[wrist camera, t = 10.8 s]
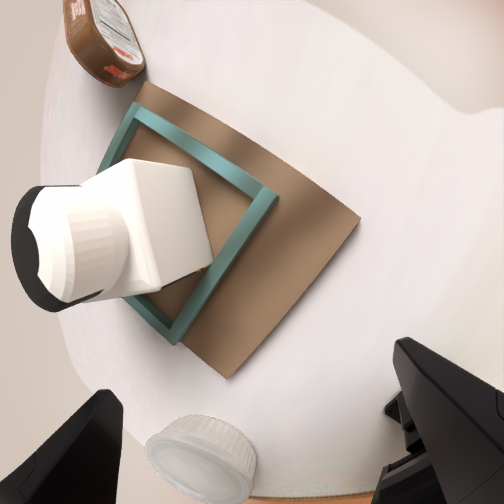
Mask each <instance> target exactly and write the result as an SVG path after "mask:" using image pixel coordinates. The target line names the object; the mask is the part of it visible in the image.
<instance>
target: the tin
mask: <svg viewBox="0 0 504 504" xmlns="http://www.w3.org/2000/svg"><path fill="white" fill-rule="evenodd" d="M63 12H64V23H65V34H66V41H67V44H68V47H69V49H70V51H71V53H72V54H73V55H74V57H75V58H76V60H77V61H78V62H79V64H80V65H81V66H82V67H83V68H84V69H85V70H86V71H87V72H88V73H89V74H90V75H92V76H93V77H94V78H96V79H97V80H99V81H100V82H102V83H104V84H106V85H108V86H111V87H115V88H120V87H123V86H124V85H125V84H126V83H127V82H128V81H129V80H130V79H132V78H133V77H134V76H136V75H137V74H138V73H139V72H140V71H141V70H142V69H143V68H144V66H145V59H144V55H143V53H142V50H141V48H140V45H139V42H138V40H137V37H136V35H135V32H134V30H133V27H132V25H131V22H130V20H129V18H128V16H127V14H126V12H125V11H124V9H123V8H122V6H121V5H120V4H119V3H118V1H117V0H63Z"/></svg>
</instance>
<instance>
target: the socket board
mask: <svg viewBox="0 0 504 504" xmlns="http://www.w3.org/2000/svg"><path fill="white" fill-rule="evenodd" d="M125 159H137V160H144V161H150V162H156V163H162V164H168V165H174V166H180V167H186V168H189V169H191V170H192V173H193V177H194V182H195V186H196V190H197V194H198V199H199V203H200V207H201V211H202V215H203V219H204V223H205V227H206V231H207V235H208V239H209V243H210V247H211V251H212V255H213V259H214V261H213V263H212V264H211V266H209V267H207V268H205V269H203V270H201V271H199V272H197V273H194V274H192V275H190V276H188V277H186V278H184V279H182V280H180V281H178V282H176V283H174V284H172V285H170V286H168V287H166V288H163V289H161V290H159V291H156V292H150V293H144V294H138V295H132V296H126V297H122V298H123V299H124V300H125V301H126V302H127V303H128V304H129V305H130V306H131V307H133V308H134V309H135V310H136V311H137V312H138V313H139V314H140V315H141V316H142V317H143V318H144V319H145V320H146V321H147V322H148V323H149V324H150V325H151V326H152V327H153V328H155V329H156V330H157V331H158V332H159V333H160V334H161V335H162V336H163V337H164V338H166V339H167V340H168V341H169V342H170V343H171V344H172V345H173V346H174V345H176V344H177V343H178V342H179V341H181V342H182V343H183V344H184V345H185V346H187V347H188V348H189V349H190V350H191V351H192V352H194V353H195V354H196V355H197V356H198V357H200V358H201V359H202V360H203V361H205V362H206V363H207V364H208V365H209V366H211V367H212V368H213V369H214V370H216V371H217V372H218V373H219V374H221V375H222V376H223V377H225V378H226V379H228V378H229V377H230V376H231V375H232V374H233V373H234V372H235V371H236V370H237V369H238V368H239V366H240V365H241V364H242V363H243V362H244V361H245V360H246V359H247V358H248V357H249V355H250V354H251V353H252V352H253V351H254V350H255V349H256V348H257V346H258V345H259V344H260V343H261V342H262V341H263V340H264V339H265V337H266V336H267V335H268V334H269V333H270V332H271V330H272V329H273V328H274V327H275V326H276V325H277V324H278V322H279V321H280V320H281V319H282V318H283V317H284V315H285V314H286V313H287V312H288V311H289V309H290V308H291V307H292V306H293V305H294V303H295V302H296V301H297V300H298V299H299V297H300V296H301V295H302V294H303V293H304V291H305V290H306V289H307V288H308V286H309V285H310V284H311V283H312V281H313V280H314V279H315V278H316V276H317V275H318V274H319V273H320V271H321V270H322V269H323V268H324V266H325V265H326V264H327V263H328V261H329V260H330V259H331V257H332V256H333V255H334V254H335V252H336V251H337V250H338V248H339V247H340V246H341V245H342V243H343V242H344V241H345V239H346V238H347V237H348V235H349V234H350V233H351V231H352V230H353V229H354V227H355V226H356V225H357V223H358V222H359V221H360V219H361V217H359V216H358V215H357V214H356V213H354V212H353V211H352V210H350V209H349V208H348V207H347V206H345V205H344V204H343V203H341V202H340V201H339V200H337V199H336V198H335V197H333V196H332V195H331V194H329V193H328V192H327V191H325V190H324V189H322V188H321V187H320V186H318V185H317V184H316V183H314V182H313V181H311V180H310V179H309V178H307V177H306V176H304V175H303V174H301V173H300V172H299V171H297V170H296V169H294V168H293V167H291V166H290V165H288V164H287V163H286V162H284V161H283V160H281V159H280V158H278V157H277V156H275V155H274V154H272V153H271V152H269V151H268V150H266V149H264V148H263V147H261V146H260V145H258V144H257V143H255V142H254V141H252V140H250V139H249V138H247V137H246V136H244V135H242V134H241V133H239V132H238V131H236V130H234V129H233V128H231V127H229V126H228V125H226V124H224V123H223V122H221V121H219V120H218V119H216V118H214V117H212V116H211V115H209V114H207V113H206V112H204V111H202V110H200V109H199V108H197V107H195V106H193V105H191V104H190V103H188V102H186V101H184V100H182V99H180V98H179V97H177V96H175V95H173V94H171V93H169V92H167V91H165V90H163V89H161V88H160V87H158V86H156V85H154V84H152V83H150V82H148V81H145V82H144V84H143V86H142V87H141V89H140V91H139V92H138V94H137V96H136V97H135V99H134V101H133V102H132V104H131V106H130V108H129V109H128V111H127V113H126V115H125V116H124V118H123V120H122V122H121V124H120V126H119V128H118V130H117V131H116V133H115V135H114V137H113V139H112V141H111V143H110V145H109V147H108V149H107V152H106V154H105V156H104V158H103V160H102V162H101V164H100V167H99V169H98V171H97V173H96V175H97V174H99V173H101V172H103V171H105V170H106V169H108V168H110V167H112V166H114V165H116V164H117V163H119V162H121V161H123V160H125Z"/></svg>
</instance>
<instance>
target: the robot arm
mask: <svg viewBox="0 0 504 504" xmlns="http://www.w3.org/2000/svg"><path fill="white" fill-rule="evenodd" d="M393 365H394V368H395V371H396V374H397V377H398V380H399V383H400V386H401V389H402V391H401V392H400V393H399V394H398V395H397V397H395V398H394V399H393V400H392V401H391V402H390V403H388V404H387V405H386V406H385V408H384V410H385V414H386V415H388V416H389V417H391V418H392V419H394V420H395V421H397V422H398V423H400V424H401V425H402V429H403V431H404V438H405V445H406V450H407V451H408V452H409V455H408V456H406V457H404V458H402V459H401V460H399V461H397V462H395V463H393V464H389V465H387V466H385V467H383V470H382V473H381V476H380V479H379V482H378V485H377V488H376V491H375V494H374V496H373V499H372V502H371V504H504V393H503V392H501V391H500V390H498V389H495V387H493V386H491V385H490V384H488V383H486V382H484V381H483V380H481V379H479V378H478V377H476V376H474V375H473V374H471V373H469V372H468V371H466V370H464V369H463V368H461V367H459V366H458V365H456V364H454V363H452V362H451V361H449V360H447V359H446V358H444V357H442V356H441V355H439V354H437V353H436V352H434V351H432V350H430V349H429V348H427V347H425V346H424V345H422V344H420V343H419V342H417V341H415V340H413V339H412V338H410V337H404V338H401V339H398V340H396V341H395V345H394V353H393ZM391 408H392V409H391ZM388 409H391V410H388ZM122 429H123V405H122V404H121V402H120V401H119V400H118V398H117V397H116V396H115V395H114V393H113V392H112V391H111V390H109V389H100V390H98V391H97V392H96V393H95V394H94V395H93V396H92V397H91V398H90V399H89V400H88V401H87V402H85V403H84V404H83V405H82V406H81V407H80V408H79V409H78V410H77V411H76V412H75V413H74V414H73V415H72V416H71V417H70V418H69V419H68V420H67V421H66V422H65V423H64V424H63V425H62V426H61V427H60V428H59V429H58V430H57V431H56V432H55V433H54V434H52V436H50V438H48V439H47V440H46V441H45V442H44V443H43V445H41V446H40V447H39V448H38V449H37V450H36V451H35V452H34V453H33V454H32V455H31V456H30V457H29V458H28V459H27V460H26V461H25V462H24V463H23V464H22V465H20V466H19V467H18V468H17V469H16V470H14V471H13V472H12V473H11V474H9V475H8V476H7V477H6V478H4V479H3V480H2V481H1V482H0V504H116V494H117V483H118V473H119V466H120V458H121V449H122Z"/></svg>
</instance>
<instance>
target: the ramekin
mask: <svg viewBox="0 0 504 504" xmlns="http://www.w3.org/2000/svg"><path fill="white" fill-rule="evenodd" d="M145 454H146V457H147V460H148V462H149V464H150V465H151V467H152V468H153V469H154V471H155V472H156V473H157V474H158V475H159V476H160V477H161V478H162V479H163V480H164V481H165V482H166V483H168V484H169V485H170V486H172V487H173V488H175V489H176V490H178V491H179V492H181V493H183V494H184V495H186V496H188V497H190V498H193V499H195V500H198V501H200V502H204V503H207V504H241V503H243V502H244V501H246V500H247V499H248V498H249V496H250V495H251V492H252V490H253V477H254V472H255V467H256V462H257V457H256V453H255V451H254V448H253V447H252V445H251V443H250V442H249V440H248V439H247V438H246V437H245V436H244V435H243V434H242V433H241V432H240V431H238V430H237V429H236V428H234V427H233V426H231V425H229V424H227V423H225V422H223V421H221V420H219V419H216V418H213V417H209V416H203V415H189V416H184V417H182V418H179V419H178V420H176V421H175V422H173V423H172V424H171V425H169V426H168V427H167V428H165V429H164V430H162V431H161V432H160V433H157V434H155V435H153V436H152V437H151V438H150V439H149V440H148V441H147V443H146V445H145Z"/></svg>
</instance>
